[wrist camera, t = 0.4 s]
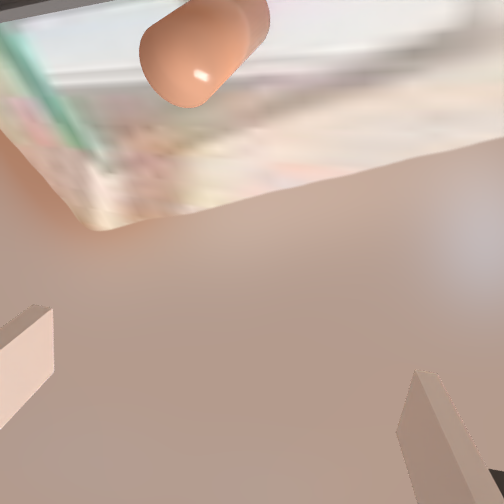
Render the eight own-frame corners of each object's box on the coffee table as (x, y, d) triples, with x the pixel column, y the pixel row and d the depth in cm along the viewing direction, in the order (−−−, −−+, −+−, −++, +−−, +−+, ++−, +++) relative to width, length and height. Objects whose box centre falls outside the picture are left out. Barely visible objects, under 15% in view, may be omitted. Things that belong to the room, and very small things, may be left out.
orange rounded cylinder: (197, -17, 40) (125, 27, 32) (261, -30, 37) (199, 15, 29) (217, 55, 44) (157, 109, 36) (276, 48, 41) (225, 106, 33)
